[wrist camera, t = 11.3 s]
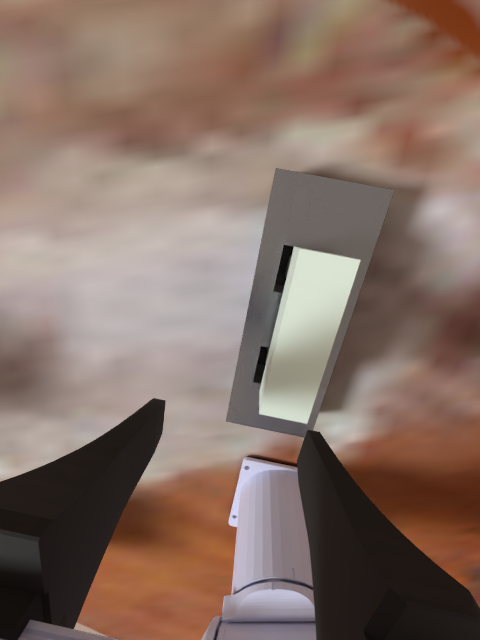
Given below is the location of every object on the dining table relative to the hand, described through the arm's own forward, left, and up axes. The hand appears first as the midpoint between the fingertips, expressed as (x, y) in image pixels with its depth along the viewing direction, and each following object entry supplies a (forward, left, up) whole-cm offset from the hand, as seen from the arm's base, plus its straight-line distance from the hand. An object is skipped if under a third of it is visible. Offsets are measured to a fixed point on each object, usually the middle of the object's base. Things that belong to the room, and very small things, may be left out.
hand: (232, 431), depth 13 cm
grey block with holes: (+4, -3, -9) cm, 11 cm away
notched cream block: (+4, -3, -9) cm, 11 cm away
